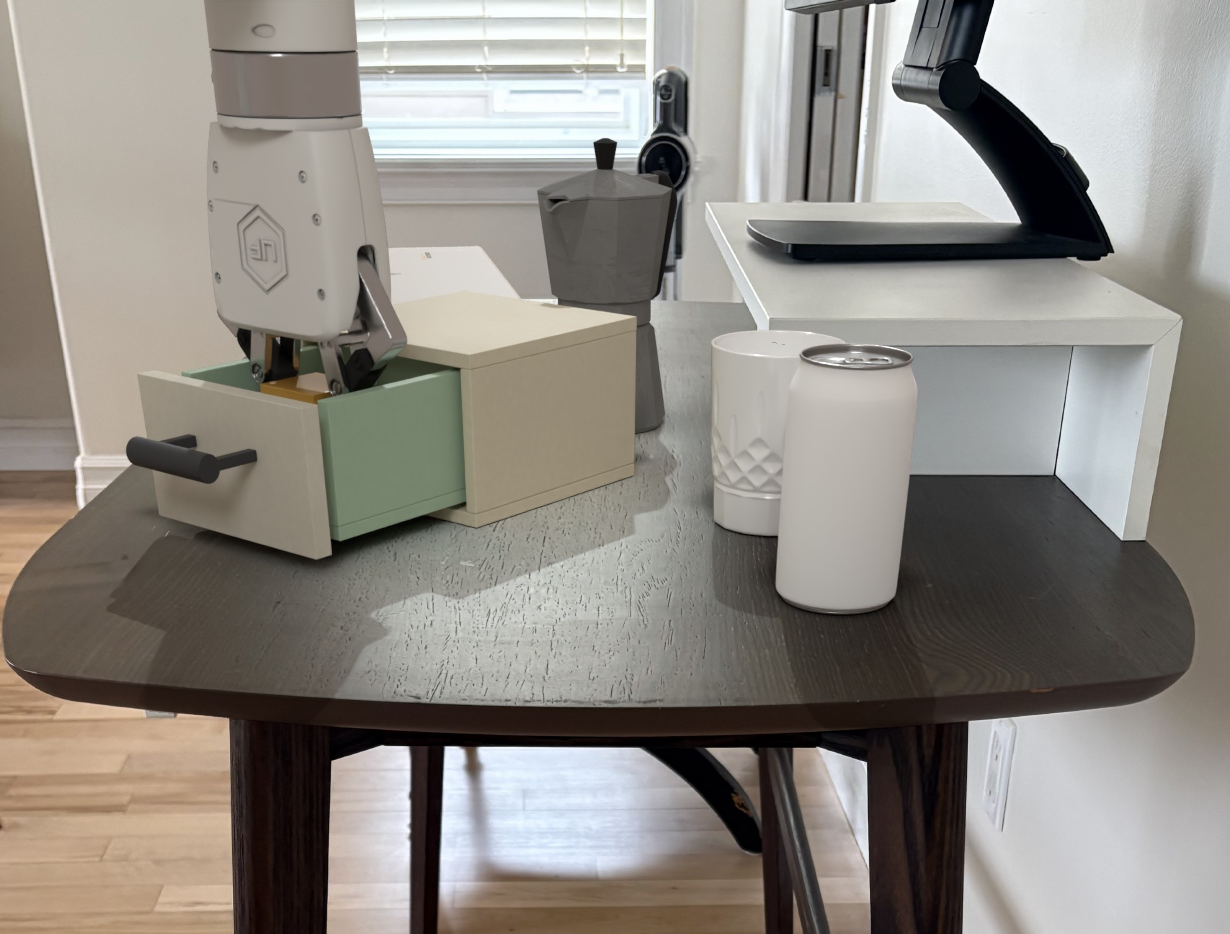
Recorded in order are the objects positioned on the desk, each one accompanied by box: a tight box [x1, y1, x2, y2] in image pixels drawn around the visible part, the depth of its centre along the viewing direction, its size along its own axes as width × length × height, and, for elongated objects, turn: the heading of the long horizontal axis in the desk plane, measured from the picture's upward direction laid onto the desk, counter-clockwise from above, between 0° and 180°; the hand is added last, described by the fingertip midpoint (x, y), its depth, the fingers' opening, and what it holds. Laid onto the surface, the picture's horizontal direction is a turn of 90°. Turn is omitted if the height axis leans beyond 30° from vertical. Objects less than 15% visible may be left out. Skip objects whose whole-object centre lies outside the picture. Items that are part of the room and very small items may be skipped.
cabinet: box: [301, 291, 637, 528], centre depth 100 cm, size 16×15×10 cm
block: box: [260, 372, 331, 476], centre depth 92 cm, size 4×4×4 cm
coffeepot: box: [536, 137, 678, 434], centre depth 112 cm, size 15×9×18 cm, turn 146°
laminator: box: [388, 245, 522, 305], centre depth 134 cm, size 34×12×6 cm, turn 10°
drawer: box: [125, 344, 466, 561], centre depth 91 cm, size 19×13×8 cm
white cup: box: [710, 329, 849, 537], centre depth 93 cm, size 8×8×10 cm
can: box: [775, 343, 919, 616], centre depth 81 cm, size 6×6×12 cm
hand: (320, 457), depth 93 cm, fingers closed on block, 4 cm apart
